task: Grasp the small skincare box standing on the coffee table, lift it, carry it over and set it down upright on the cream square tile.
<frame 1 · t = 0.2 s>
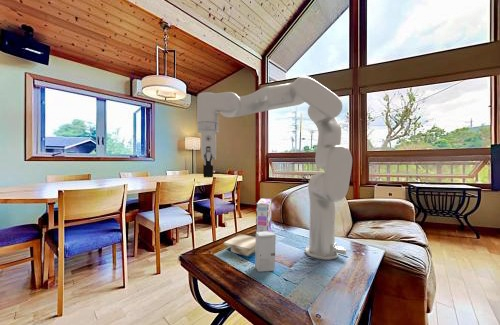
hand: (207, 176, 87), 31 cm above the table, tool pointing down, fingers open, 9 cm apart
skincare box: (264, 268, 82), on the table
cream square tile: (244, 250, 97), on the table
candy box: (263, 234, 117), on the table
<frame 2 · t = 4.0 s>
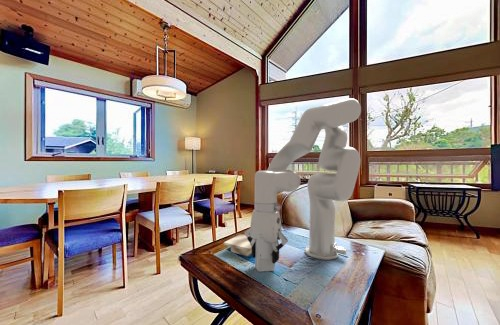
hand: (264, 258, 82), 3 cm above the table, tool pointing down, fingers closed on skincare box, 7 cm apart
skincare box: (264, 268, 82), on the table, touching gripper
everything else where it was.
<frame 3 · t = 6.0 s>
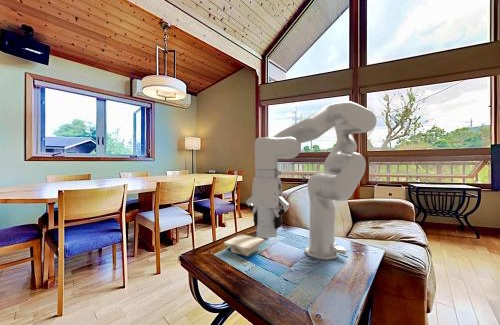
hand: (267, 225, 82), 15 cm above the table, tool pointing down, fingers closed on skincare box, 7 cm apart
skincare box: (267, 236, 82), point 11 cm above the table, touching gripper
everything else where it was.
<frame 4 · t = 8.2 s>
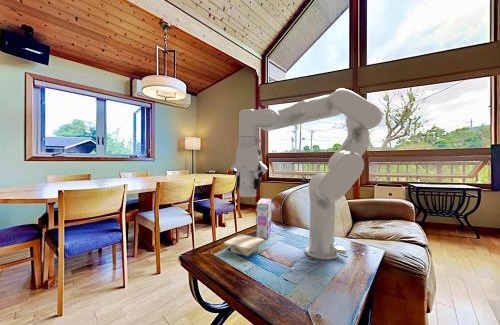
hand: (247, 187, 93), 26 cm above the table, tool pointing down, fingers closed on skincare box, 7 cm apart
skincare box: (247, 196, 93), point 22 cm above the table, touching gripper
everything else where it was.
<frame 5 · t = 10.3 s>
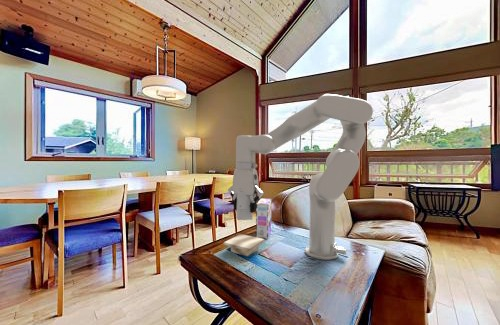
hand: (244, 210, 96), 16 cm above the table, tool pointing down, fingers closed on skincare box, 7 cm apart
skincare box: (244, 219, 96), point 13 cm above the table, touching gripper
everything else where it was.
when the fingers open (9 cm above the table, at t = 12.3 s): skincare box drops 1 cm, resting on cream square tile.
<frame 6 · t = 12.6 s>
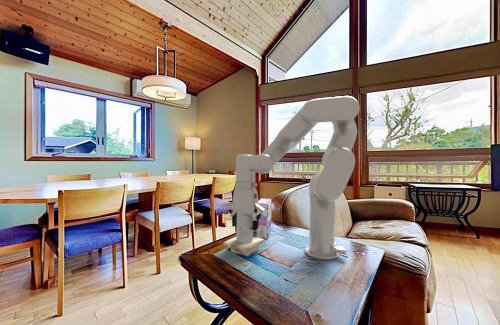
hand: (244, 227, 96), 9 cm above the table, tool pointing down, fingers open, 9 cm apart
skincare box: (244, 241, 97), point 4 cm above the table, touching cream square tile
everything else where it was.
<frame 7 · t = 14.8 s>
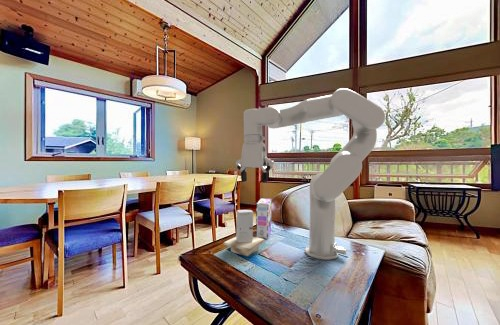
hand: (254, 181, 98), 28 cm above the table, tool pointing down, fingers open, 9 cm apart
nothing on the table moved.
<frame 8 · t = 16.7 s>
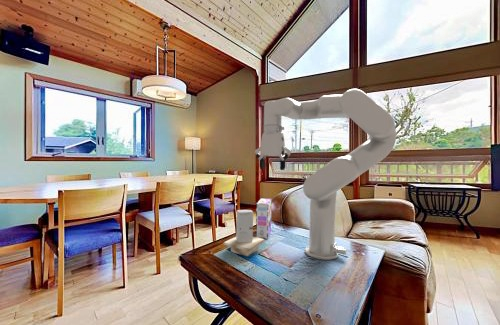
hand: (272, 169, 105), 32 cm above the table, tool pointing down, fingers open, 9 cm apart
nothing on the table moved.
at the end: skincare box inside the target area on the cream square tile (0.2 cm from its centre), point 3.8 cm above the cream square tile's base; skincare box tilted 0°; the gripper is holding nothing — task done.
